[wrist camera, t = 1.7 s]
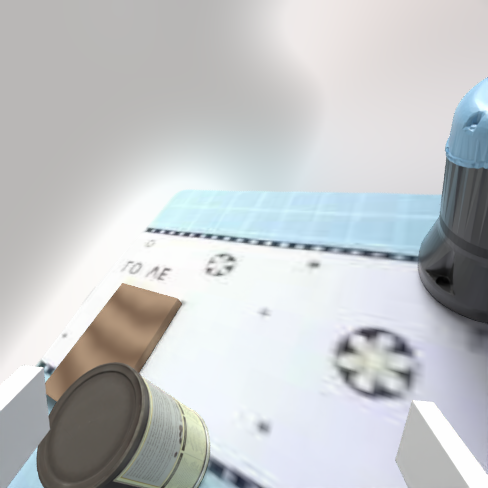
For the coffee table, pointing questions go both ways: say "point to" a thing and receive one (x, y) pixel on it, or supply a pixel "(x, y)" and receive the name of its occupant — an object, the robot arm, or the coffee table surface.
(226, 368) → the coffee table surface
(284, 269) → the coffee table surface
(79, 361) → the walnut board
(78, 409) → the coffee can
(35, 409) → the robot arm
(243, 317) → the coffee table surface
